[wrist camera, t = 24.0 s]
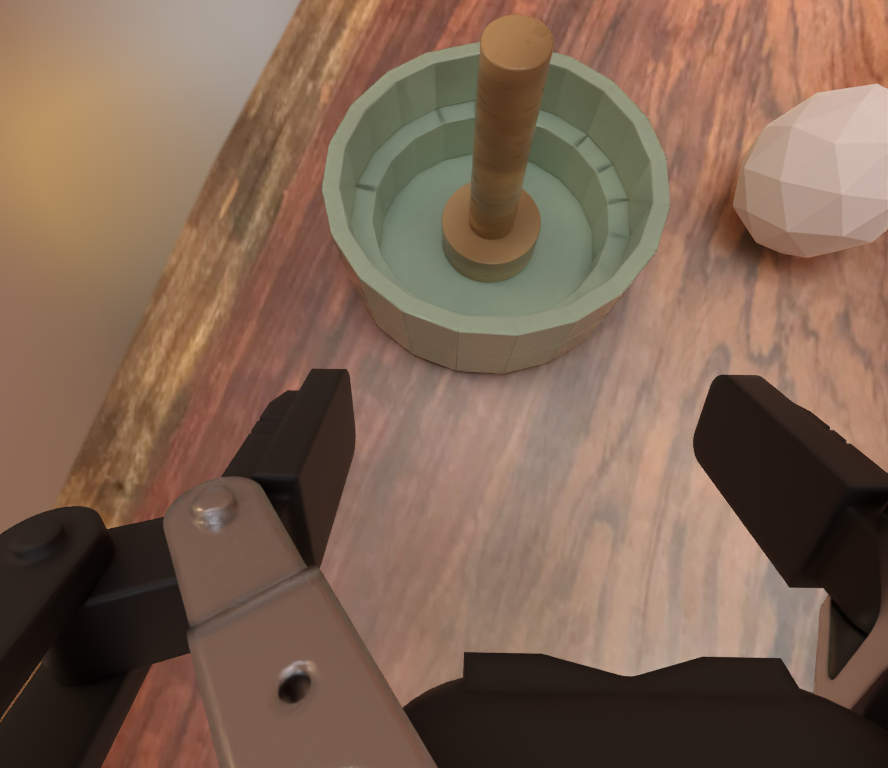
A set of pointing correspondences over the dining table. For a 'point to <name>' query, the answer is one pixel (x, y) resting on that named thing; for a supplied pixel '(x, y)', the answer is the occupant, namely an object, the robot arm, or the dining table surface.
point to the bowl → (546, 180)
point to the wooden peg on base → (500, 155)
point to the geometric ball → (819, 174)
